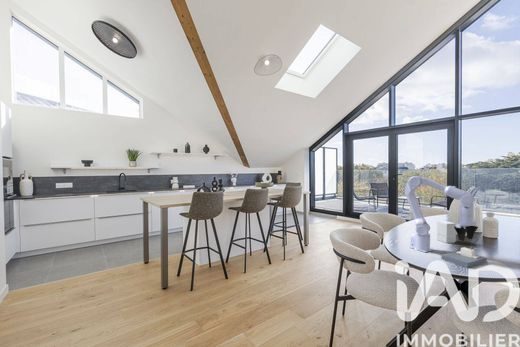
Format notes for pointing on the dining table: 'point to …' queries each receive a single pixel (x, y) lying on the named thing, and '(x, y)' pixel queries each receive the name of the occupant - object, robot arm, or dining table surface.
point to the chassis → (463, 259)
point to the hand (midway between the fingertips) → (465, 239)
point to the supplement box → (446, 232)
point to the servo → (468, 252)
